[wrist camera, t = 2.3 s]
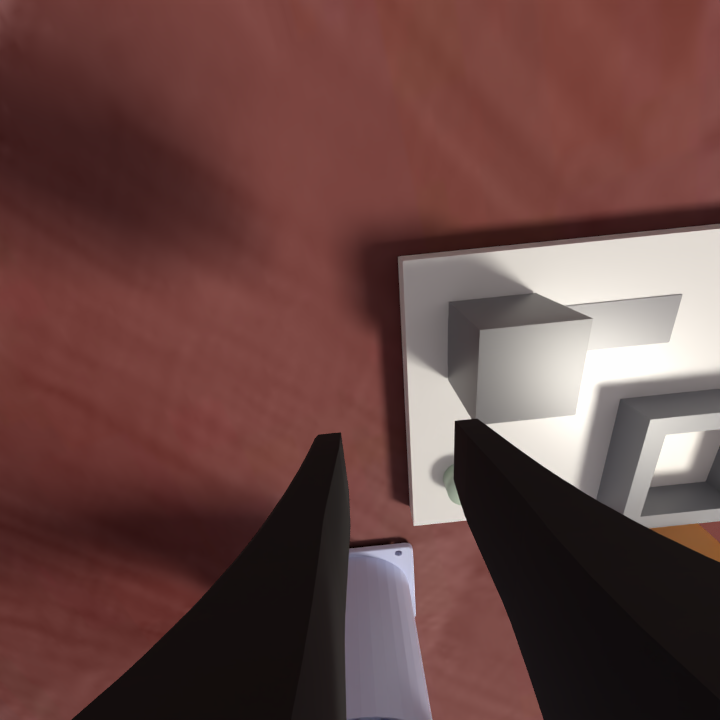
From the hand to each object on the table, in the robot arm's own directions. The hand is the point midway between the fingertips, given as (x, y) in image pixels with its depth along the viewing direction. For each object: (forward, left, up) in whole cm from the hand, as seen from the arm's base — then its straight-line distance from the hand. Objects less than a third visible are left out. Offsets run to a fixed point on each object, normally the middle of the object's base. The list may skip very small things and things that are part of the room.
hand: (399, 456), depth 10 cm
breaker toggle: (+6, 0, -8) cm, 10 cm away
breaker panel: (+12, -4, -9) cm, 15 cm away
